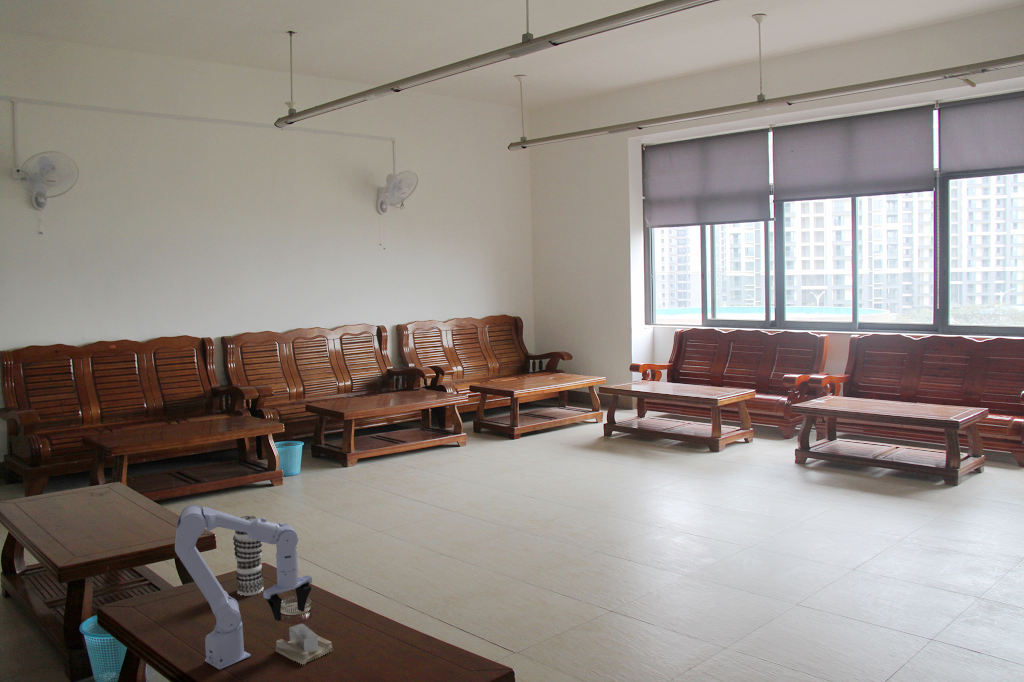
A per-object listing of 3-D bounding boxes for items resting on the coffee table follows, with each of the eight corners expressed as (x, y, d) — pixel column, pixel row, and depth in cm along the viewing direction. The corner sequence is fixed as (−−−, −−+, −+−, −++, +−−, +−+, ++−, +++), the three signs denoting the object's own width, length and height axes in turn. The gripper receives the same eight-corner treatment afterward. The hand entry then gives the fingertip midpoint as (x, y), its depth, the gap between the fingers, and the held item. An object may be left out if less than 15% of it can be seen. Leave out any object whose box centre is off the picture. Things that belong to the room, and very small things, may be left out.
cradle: (302, 665, 210) (302, 655, 210) (275, 651, 219) (275, 641, 219) (333, 651, 218) (332, 641, 218) (305, 637, 226) (305, 628, 226)
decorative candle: (249, 583, 268) (245, 512, 266) (270, 587, 265) (266, 515, 262) (230, 593, 260) (225, 520, 258) (251, 597, 256) (247, 523, 254)
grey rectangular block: (304, 655, 213) (303, 639, 213) (289, 642, 221) (289, 627, 221) (318, 651, 216) (317, 635, 215) (303, 638, 224) (302, 623, 223)
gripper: (301, 558, 228) (303, 602, 229) (256, 572, 217) (258, 620, 218) (315, 563, 223) (317, 609, 225) (270, 578, 213) (272, 627, 214)
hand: (289, 615), depth 221 cm, fingers open, 7 cm apart
